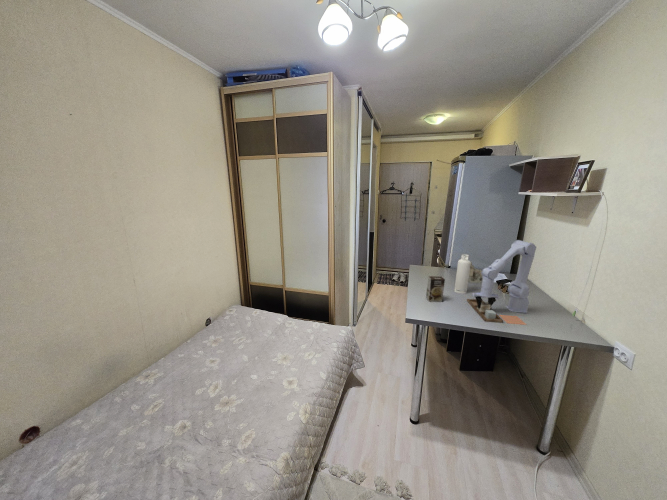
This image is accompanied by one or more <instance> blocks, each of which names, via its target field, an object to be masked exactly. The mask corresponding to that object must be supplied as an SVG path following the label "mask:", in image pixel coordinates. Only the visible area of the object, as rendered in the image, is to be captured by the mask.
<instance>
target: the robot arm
mask: <svg viewBox="0 0 667 500" xmlns="http://www.w3.org/2000/svg"><path fill="white" fill-rule="evenodd" d="M510 245H511V247H510V249H508V250H507V252H505V253H504V254H503V256H502V257H501V258H497V259H495V260H494V261H493V262H492V263H491V264H490V265H488V266H487V267H485V268H483V269H482V272H481V274H482V278H483V281H482V283H481V288H480V292H472V293H471V294H472V297H473V298H475V299H476V300H477V306H478V308H479V309H480V307H481V302H482V300H483V298H487V302H488V303H489V304H490V305H491V307H490V308H491V309H492V305H493V304H494V303H495V302H496V301H497V299H500V295H499V294H498V293H497V294H496V293H493V287H494V283H495V279H497V278H498V275H499V273H500V272H501V271H502V270H503V268H505V267H506V266H507V262H509V261H510V260H511V259H513V258H514V257H515V256H517V255H520V256H521V259H520V263H519V267H518V269H517V273H516V275H515V280H512V281H511V282H510V284H509V286H508V287H507V292H508V294H509V299H508V305H505V307H506V308H507V309H508V310H509V311H511V312H516V313H524V314H528V308H529V303H530V301H529V298H528V297H529V296H530V295H529V294H530V291H529V289H530V287H529V284H527V281H528V277H529V275H530V273H531V272H530V271H531V269H532V265H533V261H534V258H535V253H536V250H537V246H536V245H535V243H533V242H528V241H524V240H521V239H516V240H515V241H513V243H511V244H510Z"/></svg>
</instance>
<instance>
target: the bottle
mask: <svg viewBox="0 0 667 500" xmlns="http://www.w3.org/2000/svg"><path fill="white" fill-rule="evenodd" d="M469 258H470V255H469V254H465V253H462V254H461V256H460V259H458V261H457V265H456V275H455V282H454V283H455V284H454V292H455V293H456V294H463V295H464V294H467V290H468V284H469V282H468V278H469V271H470V265H471V262H472V261H470V260H469Z"/></svg>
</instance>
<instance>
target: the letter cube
mask: <svg viewBox="0 0 667 500" xmlns="http://www.w3.org/2000/svg"><path fill="white" fill-rule="evenodd" d="M490 307H491V308H492V306H491V305H490V304H489V303H488V301H484V302H481V307H480V309H479V308H478V307H477V309H478V310H479V311H482V312H485V311H486V310H490Z"/></svg>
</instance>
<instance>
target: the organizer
mask: <svg viewBox="0 0 667 500" xmlns="http://www.w3.org/2000/svg"><path fill="white" fill-rule="evenodd" d="M466 302H467V303H468V304H469V306H470V307H471V308H472V309H473V310H474V311H475V312H476V313H477V315H478V316H479V317H480V318H481V319H482V320H483V321H484V322H486V323H489V322H490V323H500V324H502V323H504V320H503V319H502V318H501V317H500V316H499V314H497V313H496V318H495V319H487V318H486V317H485V312H482V311H479V310H478V309H477V307H478V306H477V300H476V298H475V299H474V298H466ZM482 302H485V301H484V300H483V299H482ZM490 310H493V309H492V307H491V308H490Z"/></svg>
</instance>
